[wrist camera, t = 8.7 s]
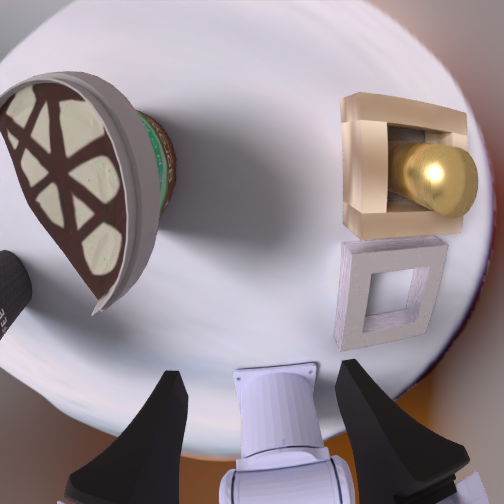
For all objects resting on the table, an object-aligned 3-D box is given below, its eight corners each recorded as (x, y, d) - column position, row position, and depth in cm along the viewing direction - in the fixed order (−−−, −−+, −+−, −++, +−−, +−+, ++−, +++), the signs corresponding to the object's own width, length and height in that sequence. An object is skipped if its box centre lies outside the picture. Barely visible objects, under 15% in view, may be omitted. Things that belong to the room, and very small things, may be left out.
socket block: (415, 320, 23) (425, 333, 21) (333, 335, 23) (340, 351, 21) (433, 235, 20) (448, 244, 18) (342, 242, 20) (352, 254, 18)
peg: (416, 192, 18) (474, 217, 12) (374, 192, 18) (428, 220, 12) (416, 142, 17) (479, 151, 10) (373, 138, 17) (431, 143, 10)
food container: (228, 199, 19) (213, 261, 9) (158, 243, 20) (99, 325, 10) (140, 59, 14) (62, 9, 5) (77, 112, 15) (-21, 111, 6)
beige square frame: (435, 218, 19) (460, 232, 16) (342, 223, 19) (360, 240, 16) (438, 113, 16) (466, 113, 13) (339, 99, 16) (359, 92, 13)
